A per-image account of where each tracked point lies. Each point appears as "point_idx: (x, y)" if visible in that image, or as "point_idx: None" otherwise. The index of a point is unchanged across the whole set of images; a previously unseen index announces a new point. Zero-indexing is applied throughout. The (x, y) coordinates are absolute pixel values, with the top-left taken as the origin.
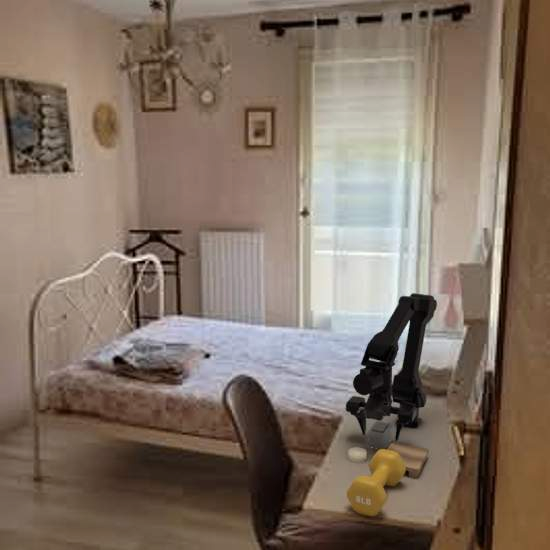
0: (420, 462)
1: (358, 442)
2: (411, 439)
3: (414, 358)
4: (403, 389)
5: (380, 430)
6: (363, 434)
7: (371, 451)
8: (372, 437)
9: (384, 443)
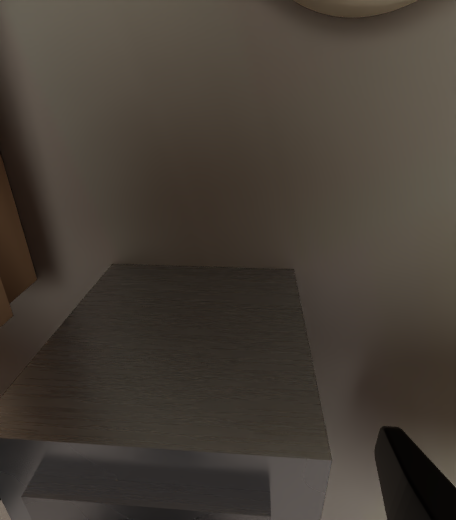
0: None
1: (420, 332)
2: None
3: None
4: None
5: (81, 507)
6: (398, 432)
7: (233, 187)
8: (243, 354)
9: (77, 308)
